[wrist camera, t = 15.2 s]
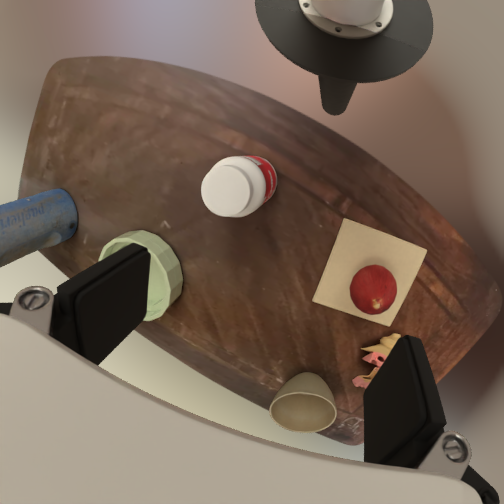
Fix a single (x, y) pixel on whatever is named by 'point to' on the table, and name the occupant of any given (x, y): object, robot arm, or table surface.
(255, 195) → the pill bottle
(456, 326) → the table surface
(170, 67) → the table surface
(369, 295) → the onion
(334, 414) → the beige deep bowl
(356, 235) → the cream square tile
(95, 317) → the robot arm
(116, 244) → the bowl
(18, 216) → the bottle
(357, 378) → the pink conch seashell
